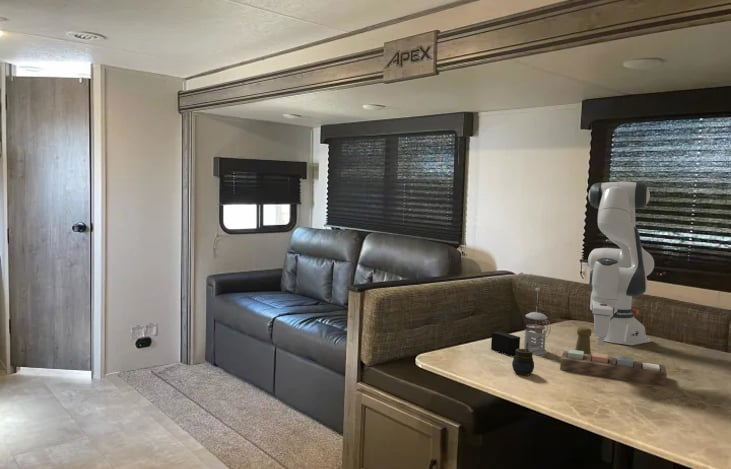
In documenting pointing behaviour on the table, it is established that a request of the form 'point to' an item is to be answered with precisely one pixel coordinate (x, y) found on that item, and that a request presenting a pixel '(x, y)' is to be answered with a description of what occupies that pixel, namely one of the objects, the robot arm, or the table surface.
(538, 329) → the french press
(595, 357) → the terracotta key
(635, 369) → the key frame
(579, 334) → the cork
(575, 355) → the sage key
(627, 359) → the slate key
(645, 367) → the cream key
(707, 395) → the table surface
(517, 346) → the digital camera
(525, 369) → the mate gourd
